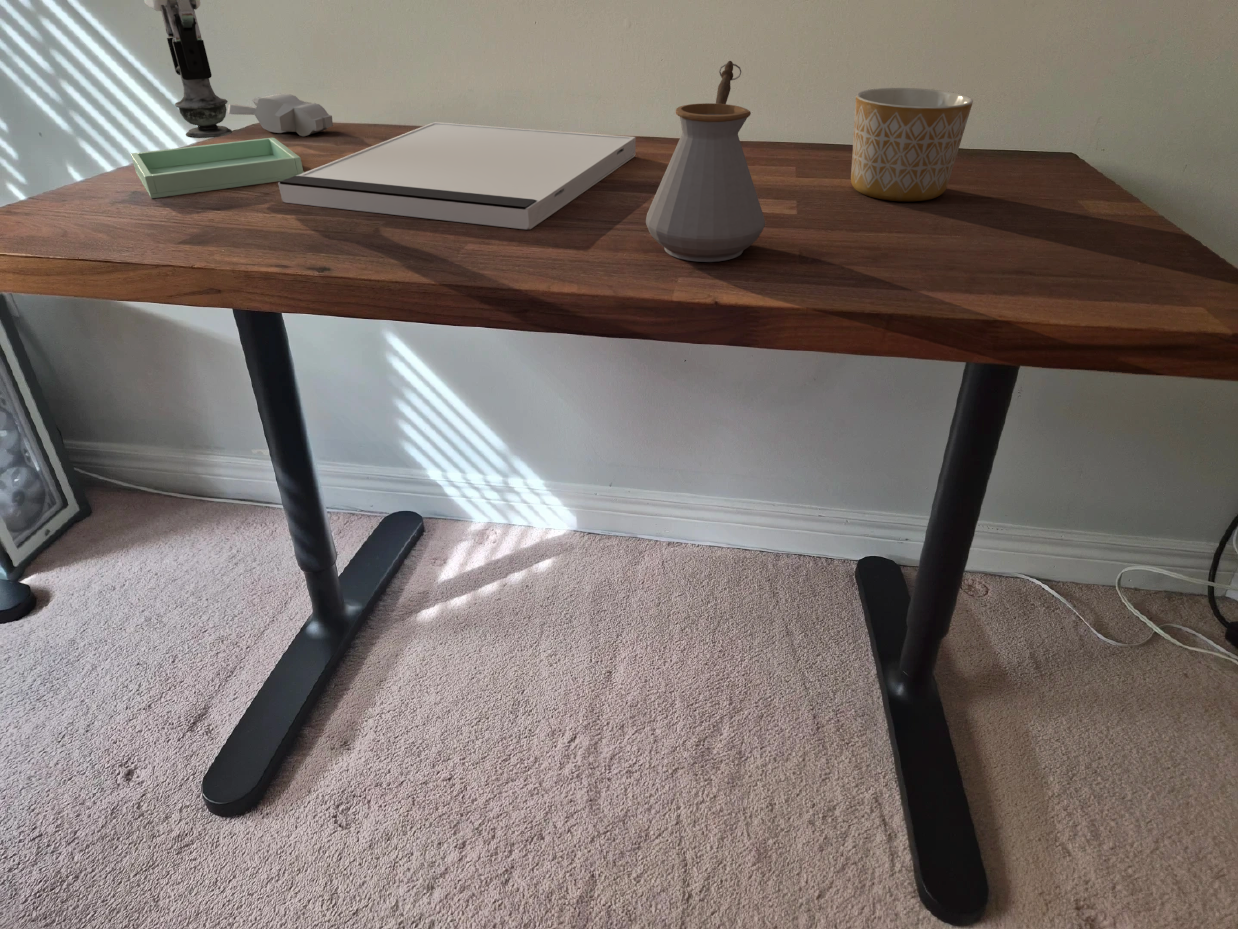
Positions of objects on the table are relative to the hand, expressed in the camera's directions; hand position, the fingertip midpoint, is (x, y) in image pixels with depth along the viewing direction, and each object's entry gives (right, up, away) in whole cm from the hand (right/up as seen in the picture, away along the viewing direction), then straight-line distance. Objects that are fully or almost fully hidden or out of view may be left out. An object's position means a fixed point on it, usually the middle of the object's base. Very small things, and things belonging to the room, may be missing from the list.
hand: (193, 74), depth 99 cm
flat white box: (+33, -10, +6) cm, 35 cm away
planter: (+84, -14, +1) cm, 85 cm away
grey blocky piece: (0, +5, +29) cm, 29 cm away
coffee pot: (+60, -23, -13) cm, 66 cm away
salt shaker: (0, -6, +4) cm, 7 cm away
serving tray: (0, -10, +6) cm, 12 cm away
